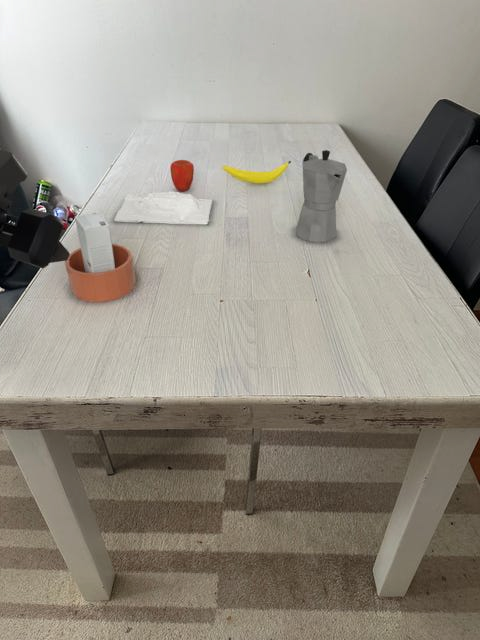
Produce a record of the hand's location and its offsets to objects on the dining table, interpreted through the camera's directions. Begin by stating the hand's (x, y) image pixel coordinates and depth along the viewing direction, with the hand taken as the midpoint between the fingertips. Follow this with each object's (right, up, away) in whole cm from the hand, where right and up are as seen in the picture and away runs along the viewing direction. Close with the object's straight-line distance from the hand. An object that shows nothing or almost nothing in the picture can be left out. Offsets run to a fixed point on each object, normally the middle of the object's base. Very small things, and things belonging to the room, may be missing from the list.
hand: (42, 249), depth 62 cm
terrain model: (+10, +16, +45) cm, 49 cm away
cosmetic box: (+3, -3, +18) cm, 18 cm away
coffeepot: (+44, +10, +37) cm, 59 cm away
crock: (+3, -4, +18) cm, 19 cm away
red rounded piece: (+12, +25, +57) cm, 64 cm away
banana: (+32, +28, +62) cm, 75 cm away
